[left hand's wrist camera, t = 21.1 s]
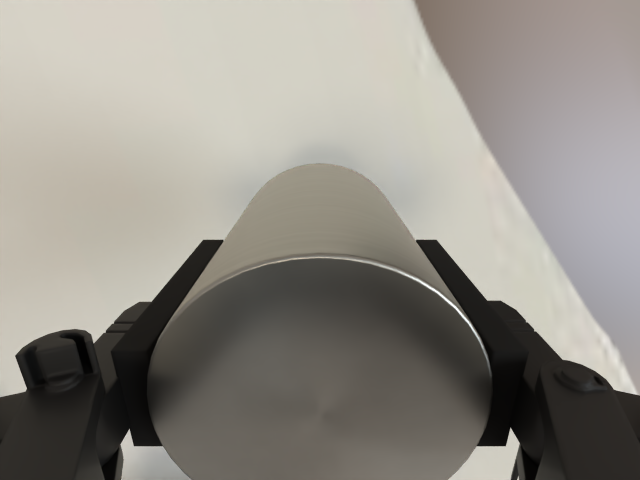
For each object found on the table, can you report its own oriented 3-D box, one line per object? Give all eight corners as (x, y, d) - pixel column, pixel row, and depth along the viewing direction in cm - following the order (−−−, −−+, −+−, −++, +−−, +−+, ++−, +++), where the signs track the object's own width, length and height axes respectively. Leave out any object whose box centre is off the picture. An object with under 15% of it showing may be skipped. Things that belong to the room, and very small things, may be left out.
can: (392, 152, 16) (501, 230, 6) (402, 300, 18) (489, 511, 9) (226, 175, 16) (93, 280, 7) (258, 316, 18) (195, 537, 9)
